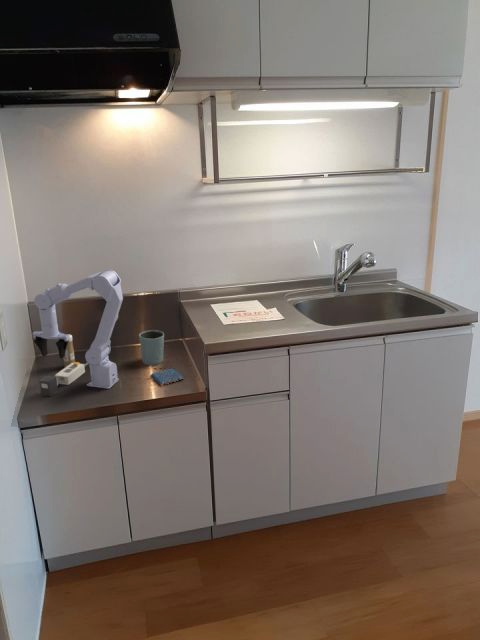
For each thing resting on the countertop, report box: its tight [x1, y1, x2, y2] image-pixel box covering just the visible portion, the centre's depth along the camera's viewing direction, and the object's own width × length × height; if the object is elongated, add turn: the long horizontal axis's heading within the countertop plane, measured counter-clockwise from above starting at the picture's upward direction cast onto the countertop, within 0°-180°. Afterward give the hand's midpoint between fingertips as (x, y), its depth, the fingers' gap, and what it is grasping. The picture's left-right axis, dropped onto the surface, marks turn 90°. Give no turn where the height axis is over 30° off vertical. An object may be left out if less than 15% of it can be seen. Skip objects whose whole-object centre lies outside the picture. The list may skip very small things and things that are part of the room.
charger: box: [38, 375, 59, 397], centre depth 189 cm, size 4×6×6 cm, turn 165°
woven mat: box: [150, 368, 186, 387], centre depth 200 cm, size 10×11×2 cm
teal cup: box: [138, 329, 165, 366], centre depth 214 cm, size 10×10×12 cm
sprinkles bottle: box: [62, 334, 76, 368], centre depth 209 cm, size 5×5×13 cm
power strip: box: [54, 361, 89, 386], centre depth 204 cm, size 6×19×4 cm, turn 165°
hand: (53, 356), depth 196 cm, fingers open, 7 cm apart
